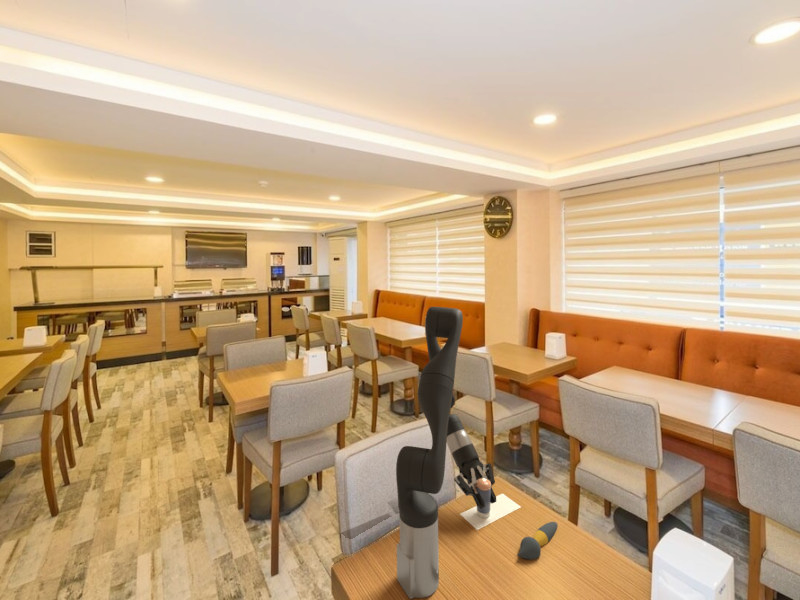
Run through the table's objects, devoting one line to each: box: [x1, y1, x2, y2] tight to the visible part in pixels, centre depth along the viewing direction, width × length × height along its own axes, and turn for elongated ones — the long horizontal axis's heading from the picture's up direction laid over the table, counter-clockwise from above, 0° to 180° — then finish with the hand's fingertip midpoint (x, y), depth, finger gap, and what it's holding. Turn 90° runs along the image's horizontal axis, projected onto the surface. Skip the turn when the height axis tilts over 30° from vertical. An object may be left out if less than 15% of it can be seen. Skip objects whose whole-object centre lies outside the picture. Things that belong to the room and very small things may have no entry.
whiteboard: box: [459, 493, 522, 531], centre depth 108 cm, size 20×9×1 cm, turn 120°
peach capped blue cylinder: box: [476, 478, 491, 518], centre depth 106 cm, size 4×4×10 cm
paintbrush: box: [517, 521, 558, 561], centre depth 96 cm, size 20×5×5 cm, turn 137°
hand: (488, 504), depth 104 cm, fingers closed on peach capped blue cylinder, 4 cm apart
